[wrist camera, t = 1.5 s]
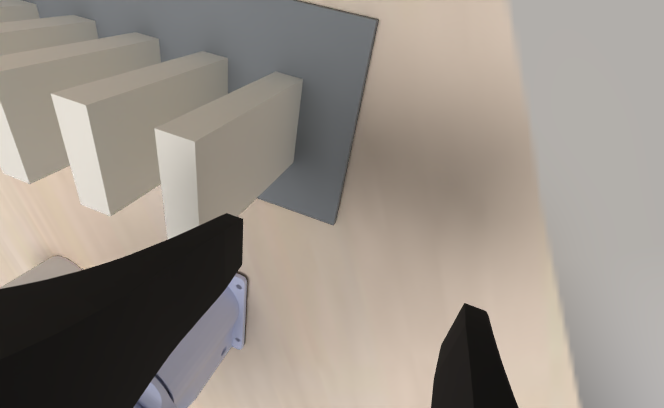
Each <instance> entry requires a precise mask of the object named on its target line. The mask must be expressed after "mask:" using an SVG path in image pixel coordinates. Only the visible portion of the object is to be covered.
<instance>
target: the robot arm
mask: <svg viewBox="0 0 664 408" xmlns="http://www.w3.org/2000/svg"><path fill="white" fill-rule="evenodd" d="M242 247H243V219H241V218H239V217H236V216H233V215H231V214H228V213H226V214H223V215H221V216H219V217H217V218H214V219H212V220H210V221H208V222H206V223H204V224H201V225H199V226H197V227H195V228H193V229H191V230H188V231H186V232H184V233H182V234H179V235H177V236H175V237H173V238H170V239H168V240H166V241H164V242H161V243H159V244H156V245H154V246H151V247H149V248H146V249H144V250H141V251H139V252H136V253H134V254H131V255H128V256H125V257H123V258H120V259H117V260H114V261H111V262H108V263H105V264H101V265H98V266H95V267H92V268H89V269H85V270H81V271H77V272H74V273H70V274H66V275H62V276H58V277H54V278H50V279H46V280H42V281H37V282H33V283H28V284H23V285H18V286H13V287H7V288H2V289H0V408H187V407H188V406H190V405H191V404H192V403H193V401H194V400H195V399H196V398H197V396H198V395H199V393H200V392H201V390H202V389H203V388H204V386H205V385H206V383H207V382H208V380H209V379H210V377H211V376H212V374H213V373H214V372H215V370H216V369H217V367H218V366H219V364H220V363H221V361H222V360H223V358H224V357H225V356H226V354H227V353H228V351H229V350H230V348H231V347H234V348H236V349H242V348H243V347H244V337H245V315H246V293H247V280H246V278H245V277H244V276H242V275H240V274H237V271H238V270H239V268H240V267H241V265H242ZM431 408H518V405H517V403H516V400H515V397H514V395H513V392H512V389H511V386H510V384H509V381H508V378H507V375H506V373H505V370H504V367H503V364H502V361H501V358H500V354H499V351H498V348H497V345H496V341H495V338H494V335H493V331H492V327H491V324H490V320H489V316H488V314H487V312H486V311H484V310H481V309H479V308H476V307H474V306H471V305H468V304H466V303H464V305H463V307H462V309H461V310H460V312H459V314H458V316H457V318H456V319H455V321H454V323H453V325H452V327H451V328H450V330H449V332H448V334H447V336H446V337H445V339H444V341H443V343H442V345H441V349H440V353H439V358H438V362H437V367H436V372H435V376H434V384H433V394H432V404H431Z"/></svg>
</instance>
